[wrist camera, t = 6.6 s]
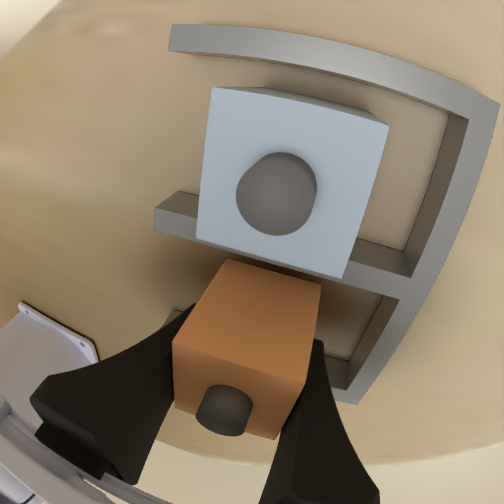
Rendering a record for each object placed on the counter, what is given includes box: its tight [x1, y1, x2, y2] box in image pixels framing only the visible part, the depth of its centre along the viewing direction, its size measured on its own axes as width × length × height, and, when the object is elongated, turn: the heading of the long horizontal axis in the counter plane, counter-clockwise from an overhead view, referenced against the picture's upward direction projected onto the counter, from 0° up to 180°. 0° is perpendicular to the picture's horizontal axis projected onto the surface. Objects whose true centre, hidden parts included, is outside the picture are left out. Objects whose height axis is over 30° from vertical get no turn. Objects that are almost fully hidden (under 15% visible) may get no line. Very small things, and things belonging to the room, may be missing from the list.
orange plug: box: [172, 258, 322, 440], centre depth 11 cm, size 4×4×6 cm
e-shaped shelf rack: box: [154, 24, 500, 405], centre depth 12 cm, size 11×15×2 cm
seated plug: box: [196, 87, 390, 279], centre depth 9 cm, size 4×4×6 cm
